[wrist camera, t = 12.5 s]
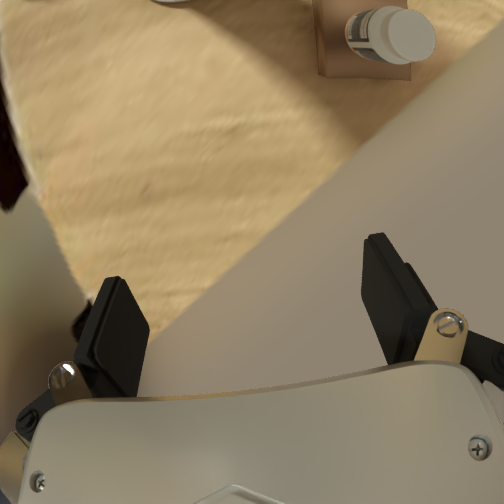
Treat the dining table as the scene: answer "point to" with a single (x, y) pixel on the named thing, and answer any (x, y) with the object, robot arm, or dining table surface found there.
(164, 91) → the dining table surface
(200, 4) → the dining table surface
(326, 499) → the robot arm
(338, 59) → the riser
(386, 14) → the pill bottle
